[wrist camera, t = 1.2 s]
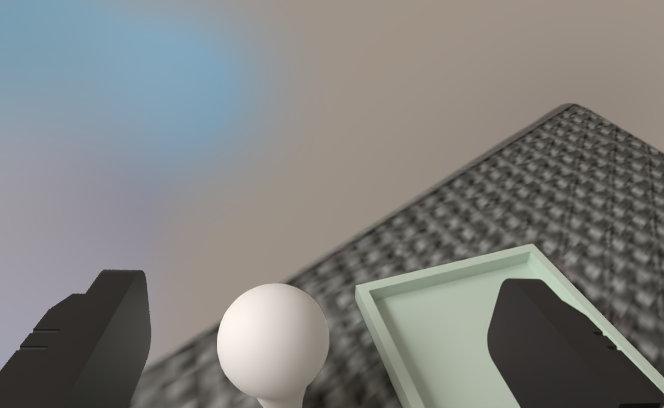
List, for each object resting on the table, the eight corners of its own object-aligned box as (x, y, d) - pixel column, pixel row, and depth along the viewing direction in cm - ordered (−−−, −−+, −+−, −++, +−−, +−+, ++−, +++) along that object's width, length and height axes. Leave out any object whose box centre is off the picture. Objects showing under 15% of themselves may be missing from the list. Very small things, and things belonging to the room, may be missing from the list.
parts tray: (527, 257, 40) (532, 243, 39) (695, 439, 27) (710, 425, 26) (355, 300, 36) (355, 285, 35) (458, 534, 23) (464, 522, 22)
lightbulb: (240, 373, 31) (213, 265, 24) (325, 364, 32) (322, 256, 25) (235, 466, 26) (200, 364, 19) (335, 453, 27) (335, 349, 20)
